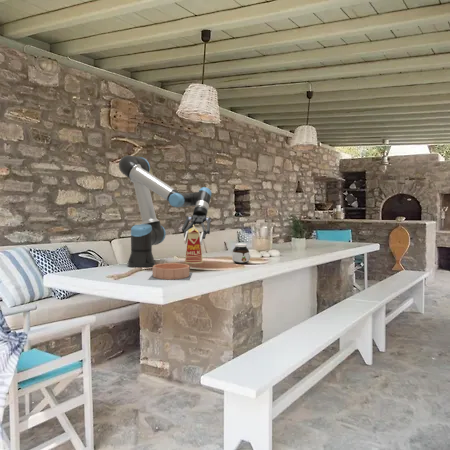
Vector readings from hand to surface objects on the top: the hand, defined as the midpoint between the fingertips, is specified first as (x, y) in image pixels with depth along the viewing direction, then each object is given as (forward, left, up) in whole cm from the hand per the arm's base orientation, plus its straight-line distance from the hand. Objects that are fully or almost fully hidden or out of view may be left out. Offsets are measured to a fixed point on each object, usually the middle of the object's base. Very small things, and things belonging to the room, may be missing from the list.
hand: (192, 242), depth 231 cm
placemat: (-10, -11, -16) cm, 22 cm away
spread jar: (+27, +36, -16) cm, 48 cm away
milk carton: (0, +4, -11) cm, 12 cm away
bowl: (-10, -11, -16) cm, 22 cm away
